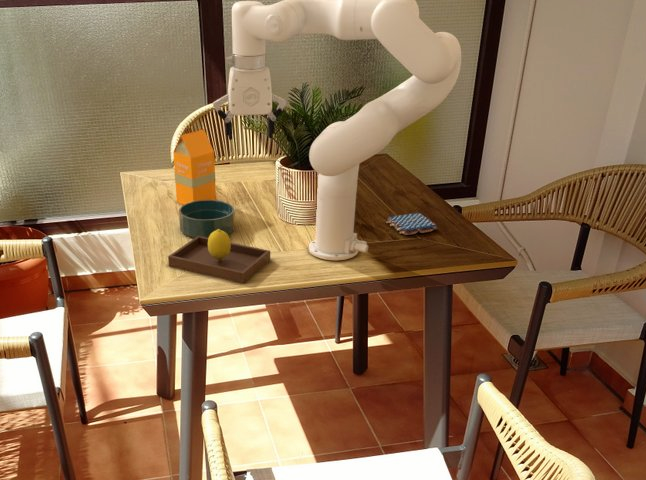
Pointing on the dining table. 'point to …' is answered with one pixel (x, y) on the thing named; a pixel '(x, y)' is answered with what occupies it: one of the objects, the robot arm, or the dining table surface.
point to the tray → (232, 267)
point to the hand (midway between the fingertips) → (250, 137)
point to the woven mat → (411, 223)
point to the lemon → (219, 244)
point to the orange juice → (194, 168)
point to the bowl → (206, 217)
